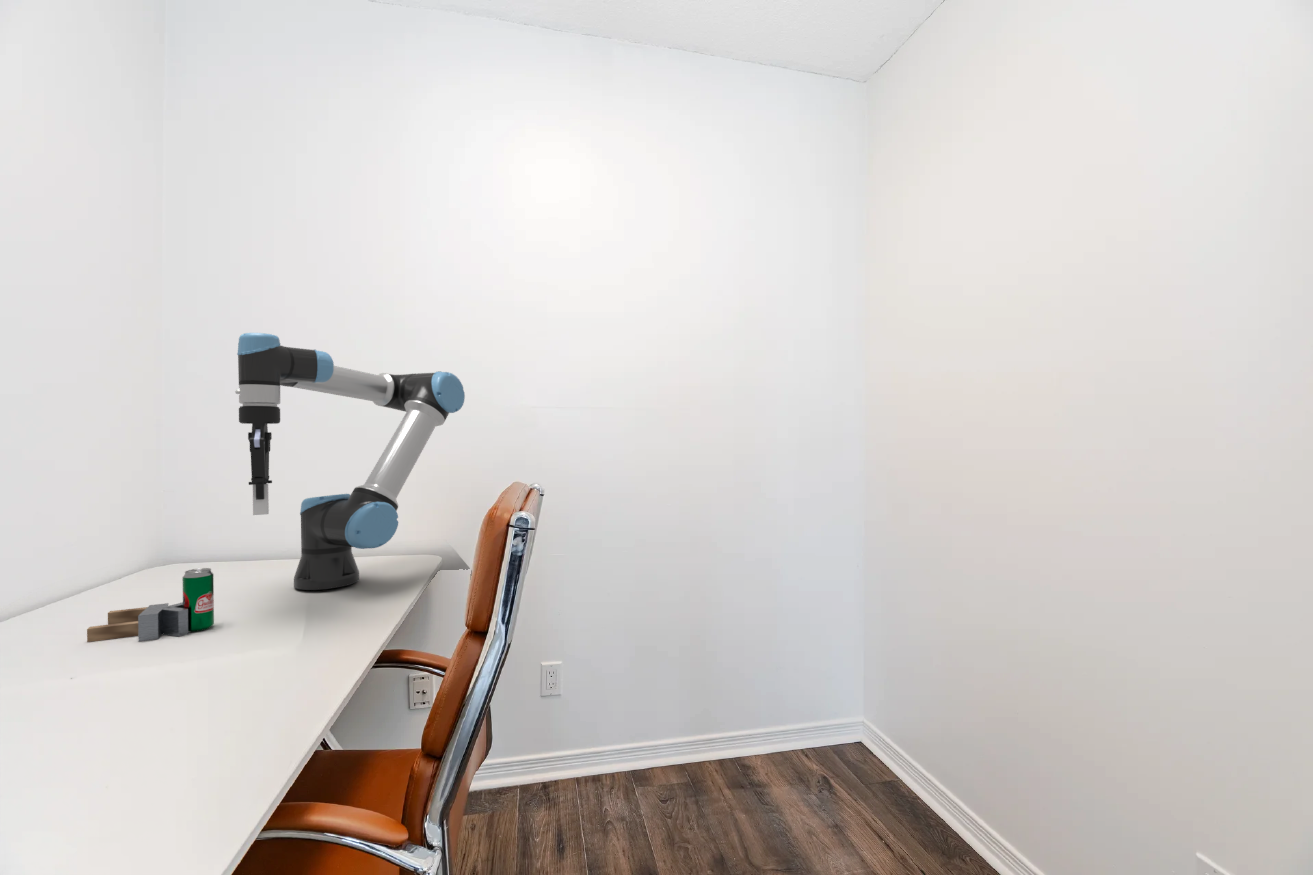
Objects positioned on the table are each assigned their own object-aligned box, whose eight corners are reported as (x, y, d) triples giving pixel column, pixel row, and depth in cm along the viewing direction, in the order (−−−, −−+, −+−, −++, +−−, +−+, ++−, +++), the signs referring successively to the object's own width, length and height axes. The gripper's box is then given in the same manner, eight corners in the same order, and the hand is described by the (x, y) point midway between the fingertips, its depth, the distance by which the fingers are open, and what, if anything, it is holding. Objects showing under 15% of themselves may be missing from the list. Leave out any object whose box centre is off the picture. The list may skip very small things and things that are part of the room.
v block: (195, 623, 127) (195, 600, 127) (186, 635, 119) (186, 610, 119) (150, 629, 123) (150, 604, 123) (138, 641, 116) (137, 615, 116)
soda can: (199, 633, 121) (198, 573, 121) (176, 632, 122) (175, 572, 121) (220, 625, 126) (219, 567, 126) (198, 624, 127) (197, 567, 126)
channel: (158, 617, 131) (158, 605, 131) (140, 635, 120) (140, 622, 120) (110, 622, 128) (110, 610, 128) (87, 641, 116) (87, 628, 116)
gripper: (243, 406, 135) (244, 511, 135) (234, 404, 123) (235, 519, 124) (282, 406, 138) (283, 509, 139) (277, 404, 127) (278, 516, 127)
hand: (260, 514), depth 131 cm, fingers closed
